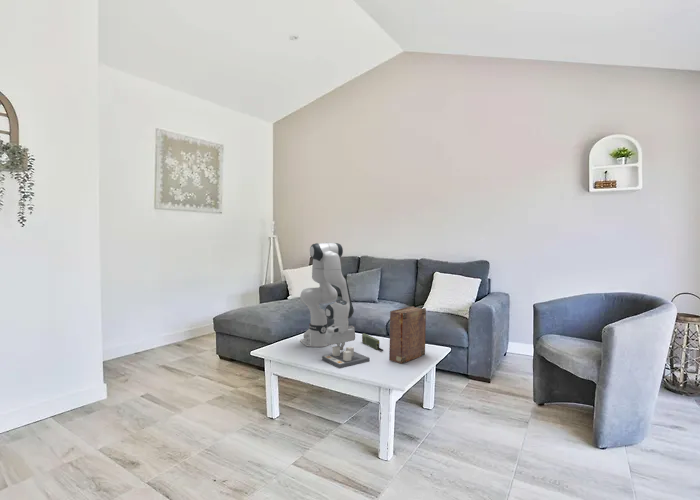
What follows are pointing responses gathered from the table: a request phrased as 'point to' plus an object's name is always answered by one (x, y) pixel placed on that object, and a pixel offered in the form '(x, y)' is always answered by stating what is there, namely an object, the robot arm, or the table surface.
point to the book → (407, 334)
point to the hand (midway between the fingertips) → (340, 349)
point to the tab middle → (350, 350)
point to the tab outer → (346, 355)
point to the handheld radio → (371, 341)
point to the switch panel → (341, 363)
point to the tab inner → (336, 351)
